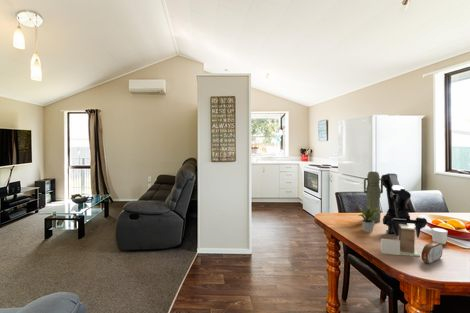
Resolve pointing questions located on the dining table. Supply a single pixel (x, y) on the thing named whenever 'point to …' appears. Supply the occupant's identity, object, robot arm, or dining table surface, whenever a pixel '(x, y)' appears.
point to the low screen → (390, 246)
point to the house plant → (368, 219)
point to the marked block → (406, 238)
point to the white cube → (439, 235)
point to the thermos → (373, 193)
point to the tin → (432, 252)
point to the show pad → (410, 253)
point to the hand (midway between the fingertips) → (407, 236)
